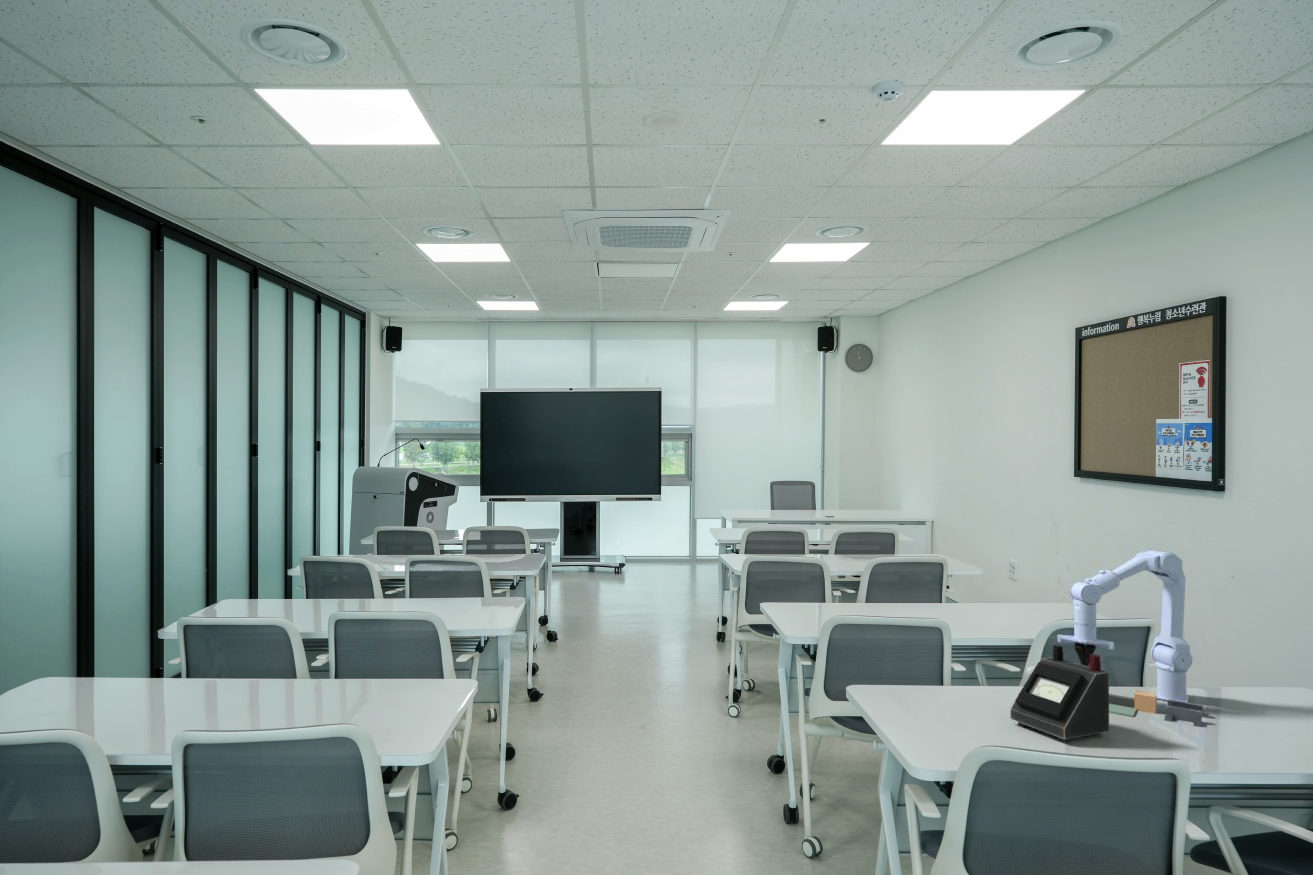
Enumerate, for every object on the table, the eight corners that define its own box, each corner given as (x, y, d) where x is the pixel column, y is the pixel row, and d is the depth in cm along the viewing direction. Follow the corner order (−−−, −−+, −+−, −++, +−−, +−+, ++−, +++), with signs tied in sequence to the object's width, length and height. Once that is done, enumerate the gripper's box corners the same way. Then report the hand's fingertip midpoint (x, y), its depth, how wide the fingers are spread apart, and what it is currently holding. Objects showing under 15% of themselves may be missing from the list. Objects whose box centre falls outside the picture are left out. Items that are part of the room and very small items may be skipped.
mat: (1104, 703, 219) (1104, 702, 219) (1136, 709, 214) (1136, 708, 214) (1099, 710, 213) (1099, 709, 213) (1133, 716, 208) (1133, 715, 208)
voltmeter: (1009, 724, 200) (1009, 647, 201) (1053, 717, 206) (1053, 643, 207) (1063, 745, 185) (1063, 662, 186) (1109, 736, 192) (1108, 657, 192)
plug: (1104, 700, 222) (1104, 685, 223) (1156, 709, 214) (1156, 693, 215) (1102, 703, 219) (1102, 687, 219) (1155, 713, 211) (1155, 697, 211)
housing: (1168, 707, 217) (1168, 696, 217) (1203, 712, 212) (1203, 702, 212) (1164, 719, 205) (1164, 708, 206) (1200, 726, 201) (1200, 715, 201)
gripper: (1055, 622, 226) (1055, 668, 225) (1111, 629, 217) (1111, 677, 216) (1059, 618, 231) (1059, 663, 231) (1114, 625, 222) (1115, 672, 222)
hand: (1085, 669), depth 224 cm, fingers closed
